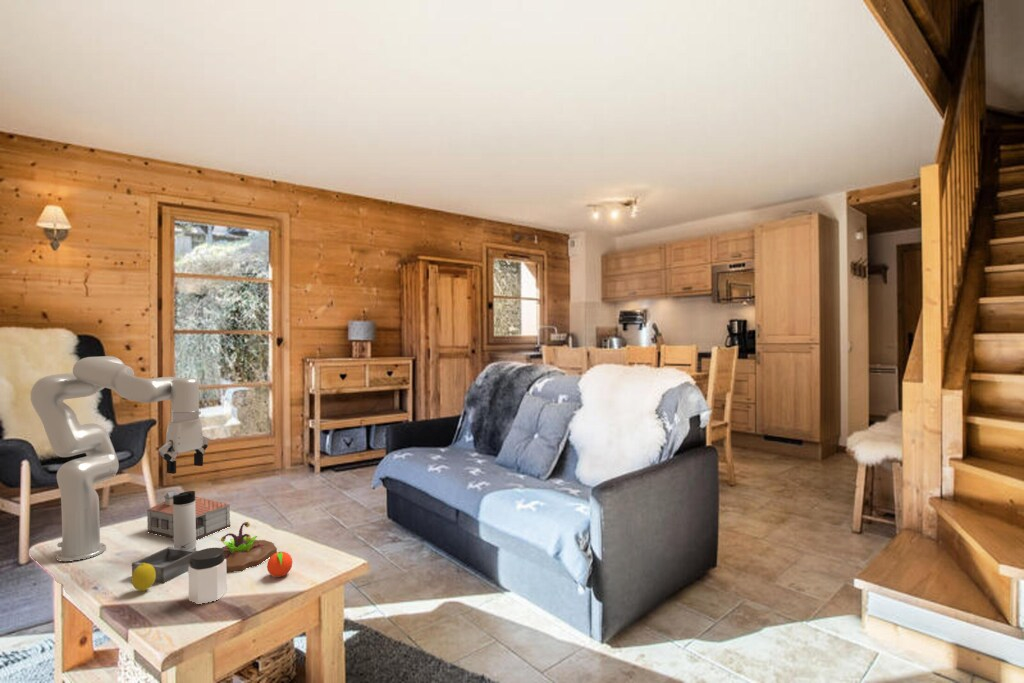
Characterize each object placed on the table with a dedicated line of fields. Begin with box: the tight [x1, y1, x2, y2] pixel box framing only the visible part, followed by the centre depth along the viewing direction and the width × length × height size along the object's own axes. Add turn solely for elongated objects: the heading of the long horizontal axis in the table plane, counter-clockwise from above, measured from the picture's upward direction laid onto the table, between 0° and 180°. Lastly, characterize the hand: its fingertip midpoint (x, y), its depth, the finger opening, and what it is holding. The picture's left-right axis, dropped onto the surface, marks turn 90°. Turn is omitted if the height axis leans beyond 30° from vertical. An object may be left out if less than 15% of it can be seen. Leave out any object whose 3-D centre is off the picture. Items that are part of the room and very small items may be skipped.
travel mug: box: [173, 490, 197, 551], centre depth 171 cm, size 6×7×20 cm
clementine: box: [266, 551, 293, 578], centre depth 153 cm, size 8×7×7 cm
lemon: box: [131, 563, 156, 592], centre depth 145 cm, size 6×6×8 cm
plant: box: [220, 521, 278, 573], centre depth 166 cm, size 20×20×11 cm
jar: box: [187, 547, 228, 605], centre depth 141 cm, size 9×8×12 cm
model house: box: [146, 491, 231, 541], centre depth 190 cm, size 24×16×15 cm, turn 67°
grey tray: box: [131, 546, 198, 584], centre depth 157 cm, size 12×12×4 cm
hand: (185, 469), depth 166 cm, fingers open, 9 cm apart
